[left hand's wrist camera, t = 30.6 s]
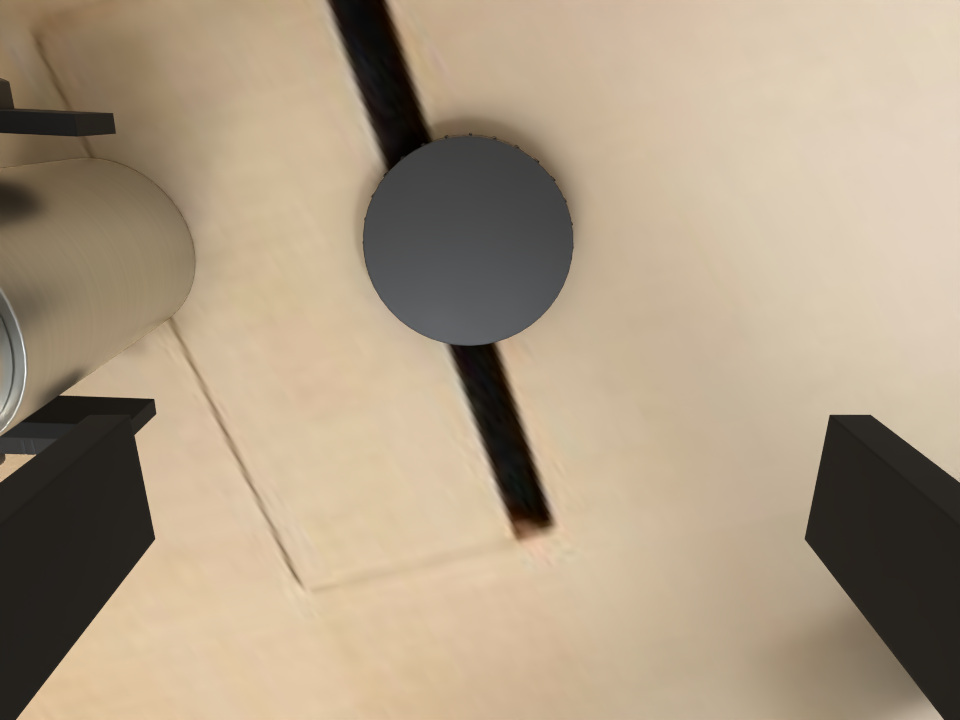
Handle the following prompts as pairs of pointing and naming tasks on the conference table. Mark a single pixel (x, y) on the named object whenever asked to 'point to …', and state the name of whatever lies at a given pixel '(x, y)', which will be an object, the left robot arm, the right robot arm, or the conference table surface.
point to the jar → (81, 273)
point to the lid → (468, 240)
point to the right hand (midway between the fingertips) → (121, 284)
